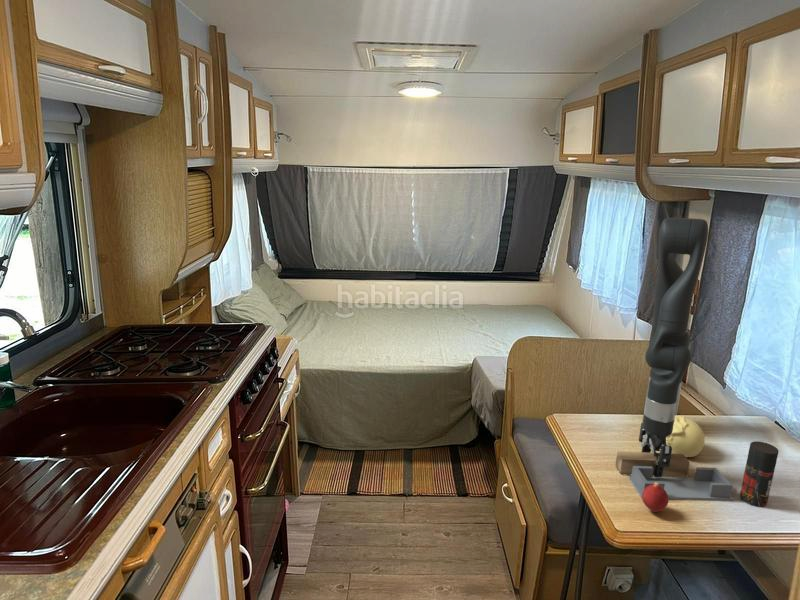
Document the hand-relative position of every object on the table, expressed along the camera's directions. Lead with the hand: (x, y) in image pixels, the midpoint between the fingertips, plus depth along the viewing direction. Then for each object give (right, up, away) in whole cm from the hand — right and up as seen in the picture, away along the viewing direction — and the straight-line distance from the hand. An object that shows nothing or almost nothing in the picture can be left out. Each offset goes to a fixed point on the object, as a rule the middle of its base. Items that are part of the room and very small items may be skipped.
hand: (651, 468), depth 151 cm
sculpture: (+13, +1, +11) cm, 17 cm away
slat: (0, -1, 0) cm, 1 cm away
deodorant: (+21, -5, -11) cm, 24 cm away
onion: (-7, -6, -16) cm, 19 cm away
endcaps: (+4, -3, -7) cm, 9 cm away
